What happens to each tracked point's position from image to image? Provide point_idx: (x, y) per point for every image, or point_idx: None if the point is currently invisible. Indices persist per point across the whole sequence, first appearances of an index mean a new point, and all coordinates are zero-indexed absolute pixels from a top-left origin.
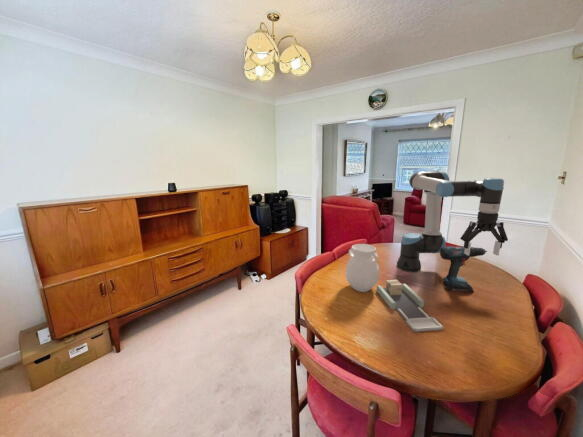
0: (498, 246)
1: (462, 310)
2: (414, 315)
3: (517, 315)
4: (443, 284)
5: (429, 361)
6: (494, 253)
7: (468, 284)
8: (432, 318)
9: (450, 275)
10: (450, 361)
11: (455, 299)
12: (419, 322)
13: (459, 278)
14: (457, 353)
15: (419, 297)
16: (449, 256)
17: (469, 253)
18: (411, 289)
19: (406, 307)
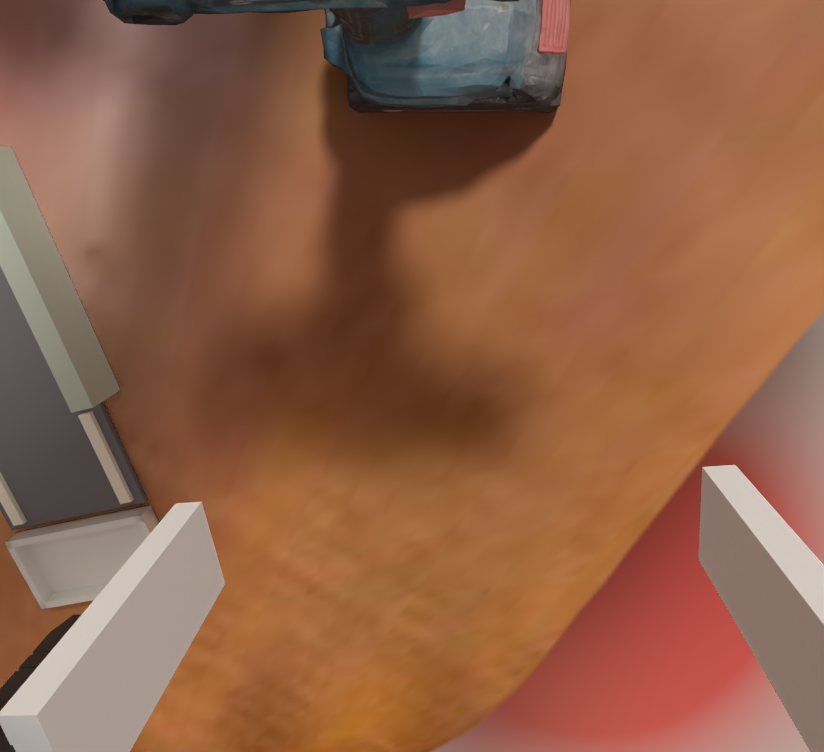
0: (788, 710)
1: (346, 398)
2: (58, 485)
3: (665, 415)
4: None
5: None
6: (705, 507)
7: (521, 87)
8: (140, 519)
9: (349, 32)
10: (167, 728)
11: (355, 261)
12: (79, 538)
13: (451, 31)
14: (203, 695)
15: (67, 365)
16: (199, 9)
17: (209, 609)
18: (17, 250)
19: (17, 414)
